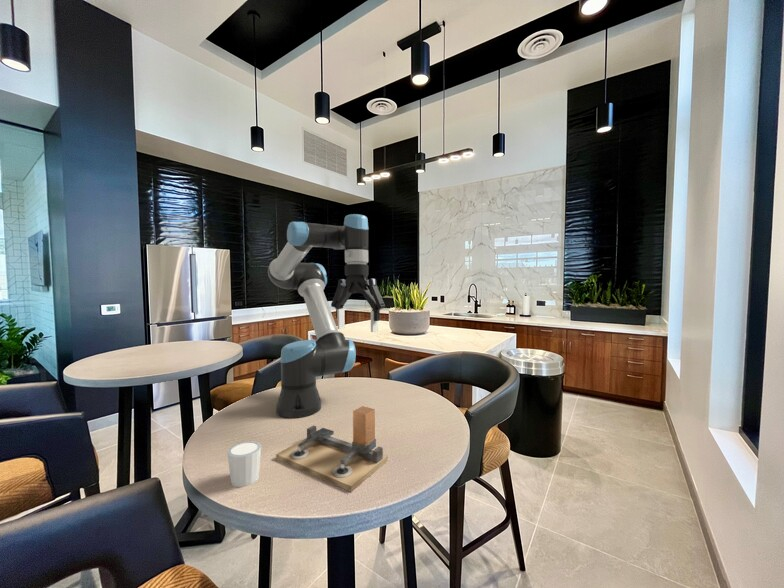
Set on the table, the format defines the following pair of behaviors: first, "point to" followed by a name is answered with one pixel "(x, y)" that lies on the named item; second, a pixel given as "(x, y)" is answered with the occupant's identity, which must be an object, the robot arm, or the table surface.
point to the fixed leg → (315, 438)
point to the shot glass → (244, 463)
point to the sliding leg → (361, 434)
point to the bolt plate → (333, 461)
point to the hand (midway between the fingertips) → (357, 330)
